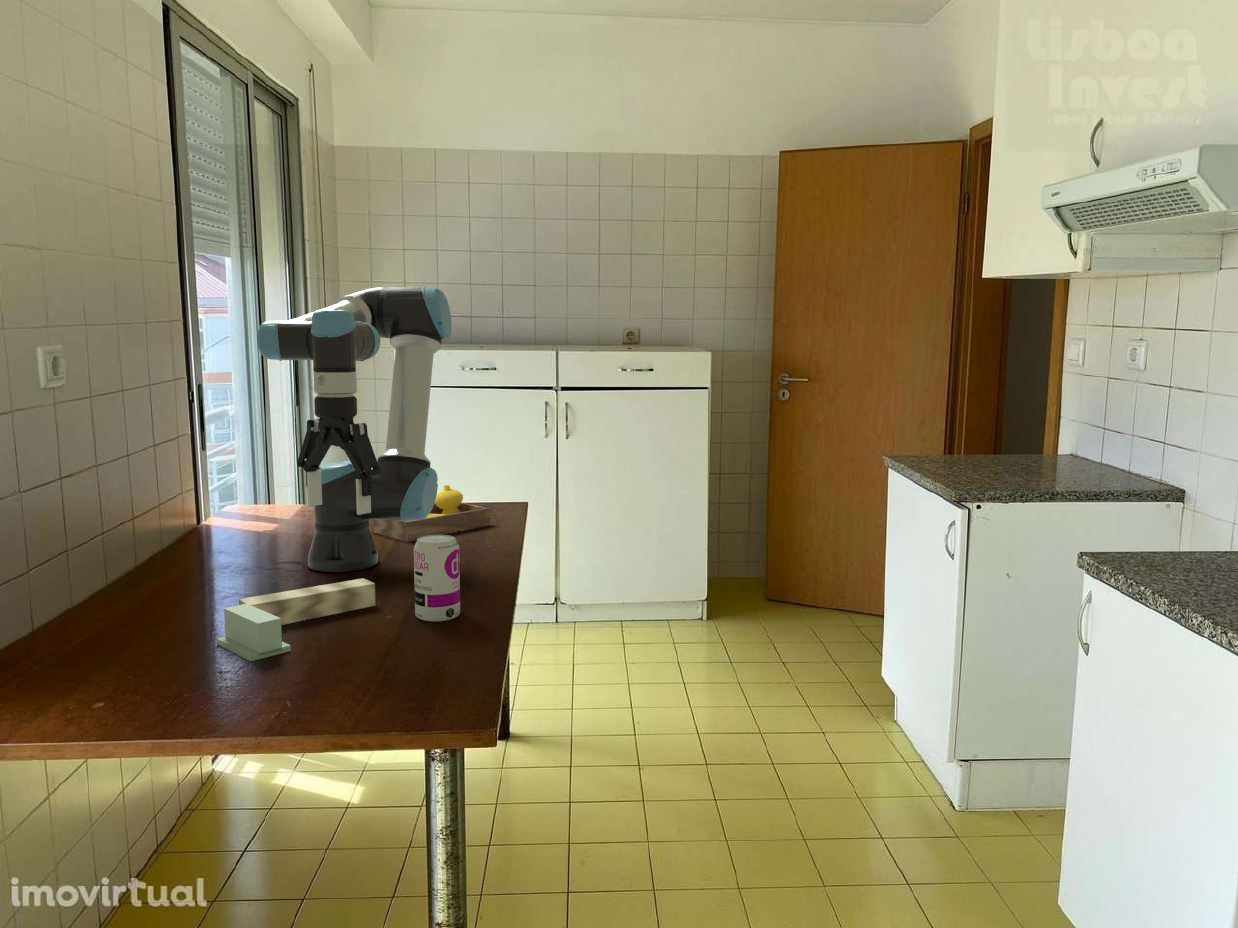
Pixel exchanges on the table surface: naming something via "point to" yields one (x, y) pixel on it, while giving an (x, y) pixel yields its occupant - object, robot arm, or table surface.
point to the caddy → (434, 523)
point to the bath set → (447, 501)
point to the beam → (316, 600)
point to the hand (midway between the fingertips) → (339, 509)
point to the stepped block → (252, 633)
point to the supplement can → (437, 578)
